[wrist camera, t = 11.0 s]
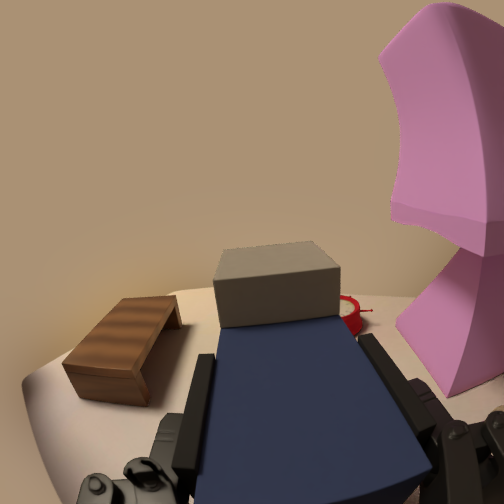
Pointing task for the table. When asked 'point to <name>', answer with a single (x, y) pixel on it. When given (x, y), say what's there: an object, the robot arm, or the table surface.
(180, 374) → the table surface
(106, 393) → the low wooden table
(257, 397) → the stacked block toy
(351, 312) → the alarm clock
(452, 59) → the pink table lamp
